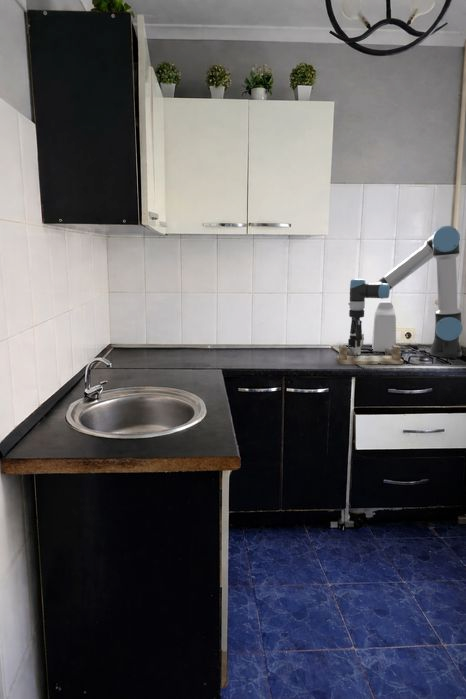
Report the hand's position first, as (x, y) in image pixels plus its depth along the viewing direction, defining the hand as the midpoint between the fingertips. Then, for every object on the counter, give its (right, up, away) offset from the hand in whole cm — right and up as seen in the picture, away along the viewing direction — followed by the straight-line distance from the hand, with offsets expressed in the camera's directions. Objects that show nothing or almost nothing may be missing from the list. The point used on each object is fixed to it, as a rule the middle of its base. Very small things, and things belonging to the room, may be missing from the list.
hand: (355, 350), depth 268 cm
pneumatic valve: (0, -3, +1) cm, 3 cm away
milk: (+19, 0, +13) cm, 23 cm away
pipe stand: (+3, -5, -14) cm, 16 cm away
